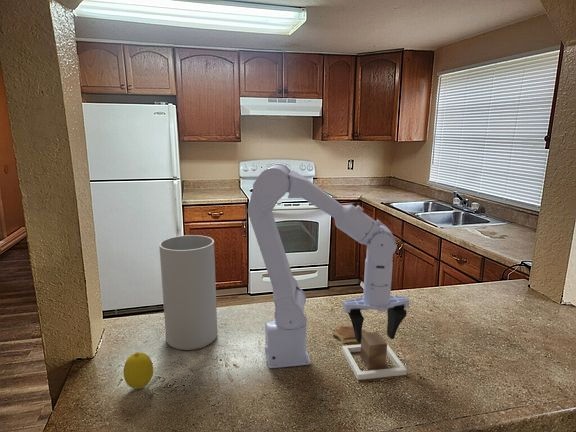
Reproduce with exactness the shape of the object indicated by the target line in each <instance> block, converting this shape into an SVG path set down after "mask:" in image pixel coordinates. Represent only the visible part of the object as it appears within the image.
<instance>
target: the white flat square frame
mask: <svg viewBox="0 0 576 432" xmlns="http://www.w3.org/2000/svg"><path fill="white" fill-rule="evenodd" d="M341 352H342V354H343V355H344V357H345V359H346V361H347V362H348V364H349V367H350V369H351V370H352V373H353V374H354V376H355V377H356V379H357V381H361V380H369V379H379V378H389V377H397V376H399V377H400V376H407V374H408V373H407V372H408V369H407V368H406V366H405V365H404V364H403V362H402V361H401V360H400V359H399V358H398V356H397V355H396V353H395V352H394V351H393V349H391V347H390V346H389V344H388V343H387V353H386V356H388V358H389V360H390V361H391V363H393V365H394V366H395V367H392V368H390V367H389V368H381V369H371V370H361V369H360V368H359V366H358V364H357V363H356V361H355V359H354V358H353V355H352V354H351V353H356V352H361V343H360V344H349V345H342V346H341Z"/></svg>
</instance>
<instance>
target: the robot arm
mask: <svg viewBox="0 0 576 432" xmlns="http://www.w3.org/2000/svg"><path fill="white" fill-rule="evenodd" d="M287 193H288V195H287V199H303V200H305V201H307V202H308V203H310V204H311V205H313V206H314V207H316V208H317V209H320V211H322V212H323V213H325V214H327V215H329V216H330V217H332V218H333V219H334V224H335V227H336V228H337V229H339V231H341V232H343V233H344V234H346V235H347V236H348V237H350V238H352V239H353V240H355V241H356V242H357V243H359V244H360V245H365V246H366V256H365V257H366V258H365V260H364V274H363V275H364V279H363V295H362V296H359V297H355V298H351V299H346V300H343V301H342V310H343V312H344V313H345V314H346V313H347V314H348V316H349V318H350V321H351V324H352V325H351V326H353V329H354V334H355V339H356V340H357V342H356V343H361V339H362V330H363V323H364V321H365V317H364V316H363V315H362V311H368V310H377V311H378V312H387V324H386V325H387V327H386V334H387V336H388V338H390V339H391V340H394V339H395V337H396V334H397V331H398V328H399V326H400V325H401V323H402V322H403V320H404V319H405V318H406V317H407V313H408V312H407V310H406V309H408V308H410V300H411V299H409V298H408V297H407V296H406V295H404V296H403V295H401V296H399V295H391V294H392V293H391V292H392V291H391V290H392V282H393V281H392V278H393V264H394V263H393V257H394V254H395V252H396V250H397V247H398V245H397V244H396V243H397V241H396V238H395V236H394V235H393V233H392V231H391V229H389V227H387V225H386V224H384V223H382V221H381V220H379V219H376V220H374V218H372V217H371V216H370V215H368V214H367V213H365V212H363V211H364V208H363V207H361V206H360V205H359V204H358V205H356V206H355V205H353V204H351V203H350V204H341V203H340V202H339V201H337V200H336V199H335V198H334V197H332V196H331V195H330V194H328V193H327V192H326V191H324V190H323V189H321V188H320V187H319V186H317V185H316V184H315V183H314V182H312V181H311V180H309V178H307V177H306V176H304V175H302V174H300V173H298V172H297V171H295V170H294V169H292V170H291V169H290V168H289V167H288V166H287V165H286V164H285V165H284V164H282V163H275V164H272V165H270V166H268V168H265V169H264V170H263V171H262V172H260V174H259V175H258V176H257V178H256V180H255V181H254V182H253V184H252V191H251V195H250V199H249V203H248V208H247V214H248V218H249V220H250V224H251V227H252V229H253V232H254V235H255V238H256V241H257V244H258V247H259V250H260V253H261V256H262V259H263V262H264V265H265V268H266V271H267V275H268V277H269V281H270V284H271V285H272V294H273V295H272V298H273V299H272V300H273V303H274V306H275V308H274V319H273V320H271V321H267V322H265V325H264V327H265V328H264V329H265V330H264V331H265V333H264V334H265V336H264V337H265V344H264V353H265V355H266V360H267V361H266V362H267V367H268V368H269V369H275V368H276V369H277V368H287V367H297V366H298V367H299V366H307V365H311V364H312V361H311V359H310V357H309V354H308V350H307V333H308V331H307V328H308V327H307V326H308V324H307V323H308V319H307V317H306V315H305V314H304V313H305V305H306V303H307V296H306V294H305V291H304V290H303V289H302V288H300V286H299V284H298V281H297V280H296V278H295V277H294V275H293V272H292V269H291V266H290V263H289V259H288V255H287V254H286V251H285V247H284V245H283V241H282V239H281V236H280V232H279V228H278V225H277V222H276V219H275V216H274V213H273V210H274V209H275V207H276V205H277V203H278V201H280V200H281V199H282V198H283V197H284V196H285V195H286V194H287Z"/></svg>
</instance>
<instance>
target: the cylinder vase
mask: <svg viewBox="0 0 576 432" xmlns="http://www.w3.org/2000/svg"><path fill="white" fill-rule="evenodd" d="M158 247H159V257H160V258H159V259H160V271H161V272H160V273H161V275H160V276H161V288H162V301H163V315H164V326H165V327H164V329H165V340H166V342H167V344H168V345H169V346H170V347H171V348H174V349H176V350H181V351H192V350H197V349H202V348H204V347H206V346H209V345H210V344H211V343H213V342H214V340H216V338H217V336H218V316H217V315H218V314H217V313H218V312H217V288H216V287H217V286H216V264H215V263H216V262H215V260H216V259H215V240H214V239H213V238H212V237H210V236H205V235H199V234H196V235H195V234H194V235H193V234H190V235H189V234H186V235H179V236H178V235H177V236H173V237H169V238H166V239H164V240H162V241H161V242H159V245H158Z"/></svg>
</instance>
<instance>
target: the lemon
mask: <svg viewBox="0 0 576 432" xmlns="http://www.w3.org/2000/svg"><path fill="white" fill-rule="evenodd" d="M122 372H123V378H124V381H125V383H126V384H127V385H128V386H129V387H130V388H133V389H139V390H140V389H142V388H144V387H146V386H147V385H149V383H150V382H151V380H152V378H153V374H154V364H153V361H152V359H151V358H150V356H149V355H148V354H146V353H144V352H140V351H139V352H138V351H136V352H134V353H132V354H131V355H129V357H128V358H126V361H125V362H124V366H123V371H122Z"/></svg>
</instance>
